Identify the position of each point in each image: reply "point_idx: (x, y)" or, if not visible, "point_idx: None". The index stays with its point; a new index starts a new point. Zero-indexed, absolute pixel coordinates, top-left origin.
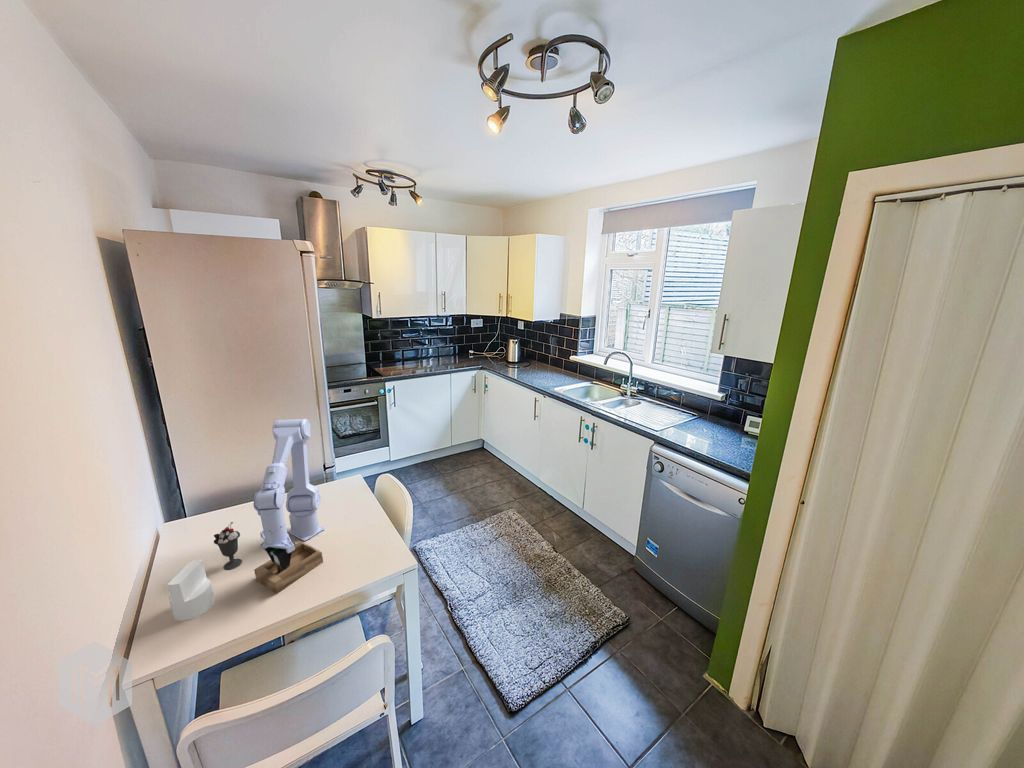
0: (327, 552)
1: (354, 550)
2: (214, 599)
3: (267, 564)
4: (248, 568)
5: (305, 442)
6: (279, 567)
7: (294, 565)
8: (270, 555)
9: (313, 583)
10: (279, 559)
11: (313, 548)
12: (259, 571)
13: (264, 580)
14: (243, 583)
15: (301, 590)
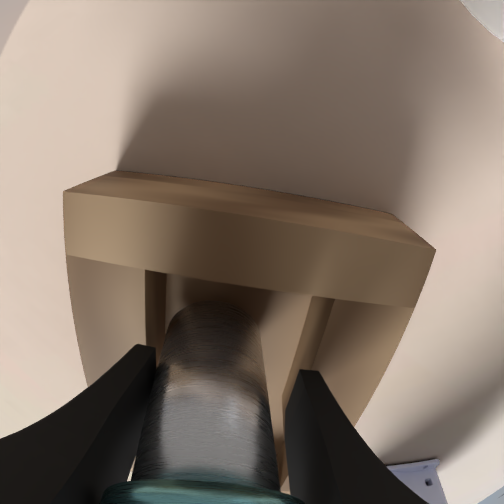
0: None
1: None
2: (472, 8)
3: (366, 336)
4: (498, 269)
5: None
6: (182, 346)
7: None
8: (322, 441)
9: (31, 307)
10: (60, 425)
11: None
12: (366, 249)
13: (264, 202)
14: (445, 161)
15: (29, 251)
